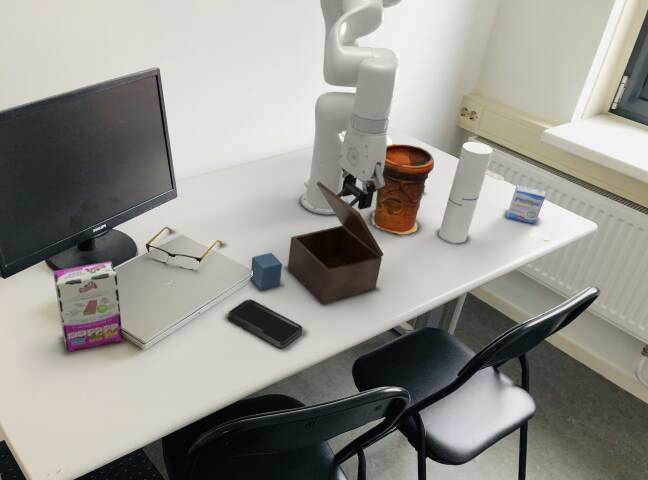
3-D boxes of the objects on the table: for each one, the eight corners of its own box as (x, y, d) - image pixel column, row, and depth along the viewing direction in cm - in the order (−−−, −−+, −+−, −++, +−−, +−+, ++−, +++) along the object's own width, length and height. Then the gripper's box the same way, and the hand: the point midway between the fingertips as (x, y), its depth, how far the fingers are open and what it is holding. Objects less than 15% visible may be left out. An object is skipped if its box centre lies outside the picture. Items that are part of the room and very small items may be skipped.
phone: (249, 298, 144) (304, 327, 137) (248, 302, 144) (304, 331, 137) (225, 313, 139) (282, 345, 132) (225, 318, 139) (281, 349, 132)
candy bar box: (117, 326, 135) (112, 259, 125) (123, 341, 131) (118, 273, 122) (61, 337, 131) (52, 269, 121) (66, 353, 127) (56, 284, 118)
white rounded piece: (362, 155, 214) (366, 133, 209) (376, 149, 218) (380, 128, 214) (387, 165, 208) (391, 144, 204) (401, 160, 213) (405, 138, 208)
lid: (356, 215, 135) (377, 197, 135) (316, 183, 146) (334, 166, 146) (381, 257, 146) (400, 240, 146) (341, 224, 157) (359, 209, 157)
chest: (323, 304, 146) (328, 271, 141) (287, 268, 157) (291, 237, 151) (375, 289, 152) (382, 257, 147) (337, 255, 163) (342, 225, 157)
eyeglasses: (144, 259, 156) (143, 245, 153) (171, 231, 167) (171, 217, 164) (198, 274, 152) (199, 259, 150) (222, 244, 163) (223, 231, 161)
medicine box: (506, 218, 185) (515, 190, 180) (507, 211, 188) (516, 184, 183) (535, 224, 183) (545, 197, 178) (536, 217, 186) (546, 190, 181)
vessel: (360, 228, 175) (373, 158, 163) (372, 205, 186) (385, 138, 174) (413, 241, 171) (430, 171, 159) (423, 217, 182) (439, 150, 170)
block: (250, 278, 152) (252, 257, 149) (269, 274, 154) (271, 252, 151) (260, 290, 149) (262, 268, 145) (279, 285, 151) (282, 263, 147)
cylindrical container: (466, 244, 171) (494, 155, 157) (439, 240, 172) (463, 151, 157) (465, 231, 177) (491, 144, 162) (438, 227, 178) (462, 140, 163)
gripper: (331, 109, 138) (320, 187, 148) (380, 140, 126) (364, 222, 136) (360, 106, 141) (347, 182, 151) (410, 135, 129) (393, 216, 140)
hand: (355, 200), depth 144 cm, fingers closed on lid, 5 cm apart
